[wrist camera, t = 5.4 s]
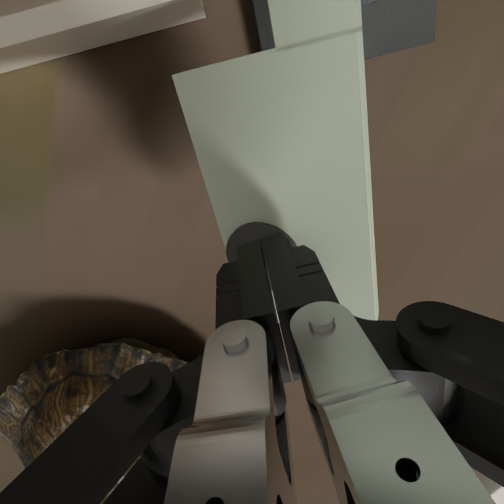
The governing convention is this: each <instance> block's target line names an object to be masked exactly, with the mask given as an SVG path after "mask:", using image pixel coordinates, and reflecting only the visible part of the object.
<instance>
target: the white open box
mask: <svg viewBox="0 0 504 504" xmlns="http://www.w3.org/2000/svg"><path fill="white" fill-rule="evenodd" d="M203 18H206V14H205V10H204V6H203V2H202V0H0V74H2V73H5V72H9V71H12V70H16V69H20V68H23V67H27V66H31V65H34V64H38V63H42V62H45V61H49V60H53V59H56V58H60V57H64V56H67V55H71V54H75V53H78V52H82V51H86V50H89V49H93V48H97V47H100V46H104V45H108V44H111V43H115V42H118V41H122V40H126V39H129V38H133V37H137V36H140V35H144V34H148V33H151V32H155V31H159V30H162V29H166V28H170V27H173V26H177V25H181V24H184V23H188V22H192V21H195V20H199V19H203Z"/></svg>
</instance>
